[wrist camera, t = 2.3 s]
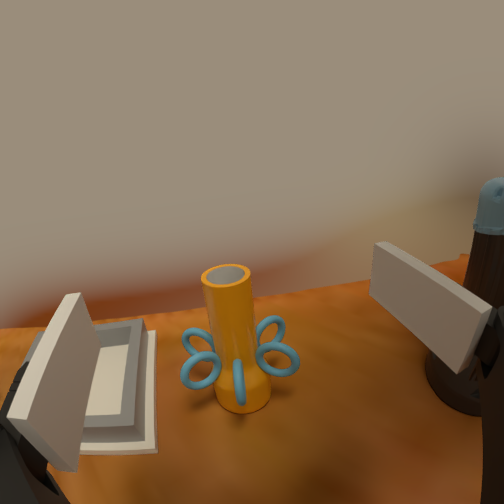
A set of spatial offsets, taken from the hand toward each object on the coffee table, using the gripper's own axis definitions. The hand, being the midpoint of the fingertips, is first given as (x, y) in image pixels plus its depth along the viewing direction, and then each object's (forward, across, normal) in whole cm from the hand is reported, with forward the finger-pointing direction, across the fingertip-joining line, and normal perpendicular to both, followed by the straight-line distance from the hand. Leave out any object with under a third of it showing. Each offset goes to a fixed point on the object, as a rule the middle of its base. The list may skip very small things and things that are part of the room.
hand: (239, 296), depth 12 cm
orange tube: (+11, +1, -20) cm, 22 cm away
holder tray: (+15, -19, -20) cm, 31 cm away
